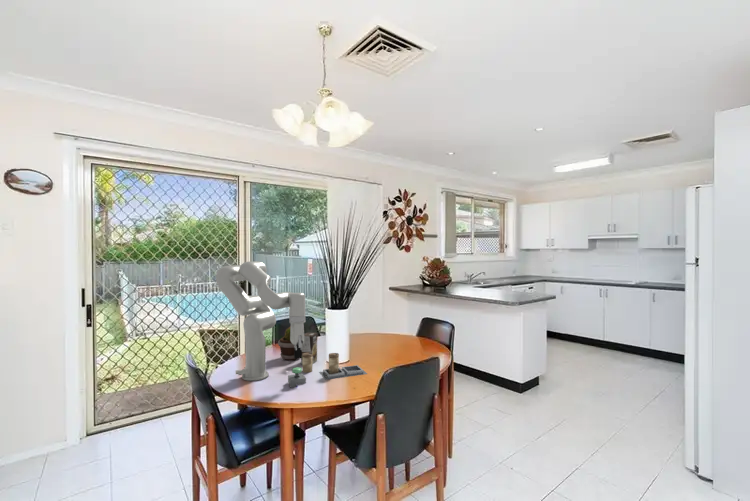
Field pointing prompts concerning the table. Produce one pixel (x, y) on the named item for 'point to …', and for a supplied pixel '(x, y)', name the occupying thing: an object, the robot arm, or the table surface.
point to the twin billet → (333, 363)
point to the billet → (307, 363)
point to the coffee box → (310, 346)
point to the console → (296, 380)
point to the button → (297, 371)
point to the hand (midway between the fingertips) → (298, 357)
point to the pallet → (343, 372)
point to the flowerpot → (287, 347)
